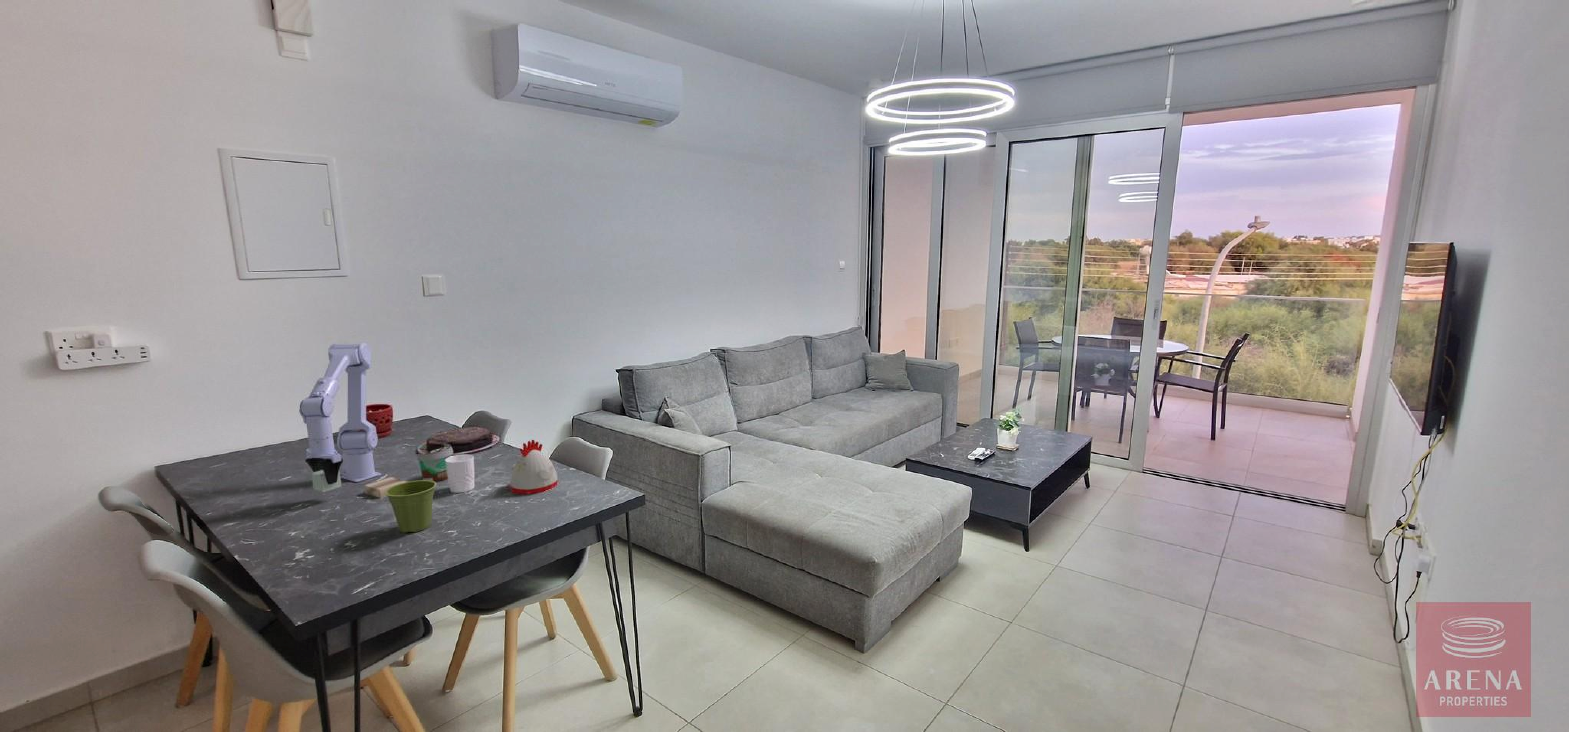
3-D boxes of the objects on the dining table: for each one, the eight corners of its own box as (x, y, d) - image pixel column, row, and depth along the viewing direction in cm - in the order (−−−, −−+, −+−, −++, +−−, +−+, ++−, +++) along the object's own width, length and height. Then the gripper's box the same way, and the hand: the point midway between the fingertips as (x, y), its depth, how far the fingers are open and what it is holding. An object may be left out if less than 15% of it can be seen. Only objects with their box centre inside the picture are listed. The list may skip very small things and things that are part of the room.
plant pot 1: (348, 440, 245) (344, 410, 243) (375, 430, 258) (371, 402, 256) (377, 441, 243) (374, 411, 241) (403, 432, 256) (400, 404, 254)
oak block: (365, 494, 191) (364, 485, 190) (392, 486, 198) (391, 477, 197) (381, 499, 187) (380, 489, 186) (407, 490, 194) (406, 481, 193)
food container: (436, 486, 197) (433, 455, 195) (419, 484, 198) (416, 454, 196) (464, 472, 208) (461, 444, 207) (447, 471, 210) (445, 443, 208)
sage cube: (313, 489, 184) (311, 473, 183) (332, 483, 188) (329, 467, 187) (323, 492, 181) (320, 475, 180) (341, 486, 186) (339, 470, 185)
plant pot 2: (450, 520, 171) (446, 481, 169) (416, 539, 160) (411, 497, 158) (414, 516, 174) (410, 477, 172) (378, 534, 162) (373, 493, 160)
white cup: (482, 486, 196) (479, 456, 194) (460, 495, 189) (456, 463, 187) (464, 482, 199) (461, 452, 198) (442, 491, 192) (439, 460, 191)
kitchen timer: (500, 489, 193) (496, 443, 191) (535, 475, 206) (532, 432, 203) (533, 497, 188) (529, 449, 185) (567, 482, 200) (564, 437, 197)
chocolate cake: (409, 446, 239) (407, 429, 237) (486, 432, 257) (484, 416, 256) (428, 464, 218) (426, 446, 217) (510, 447, 237) (509, 430, 236)
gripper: (291, 437, 182) (298, 481, 184) (319, 444, 175) (326, 490, 178) (318, 431, 188) (324, 474, 190) (346, 438, 181) (352, 482, 184)
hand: (327, 481), depth 184 cm, fingers closed on sage cube, 5 cm apart
